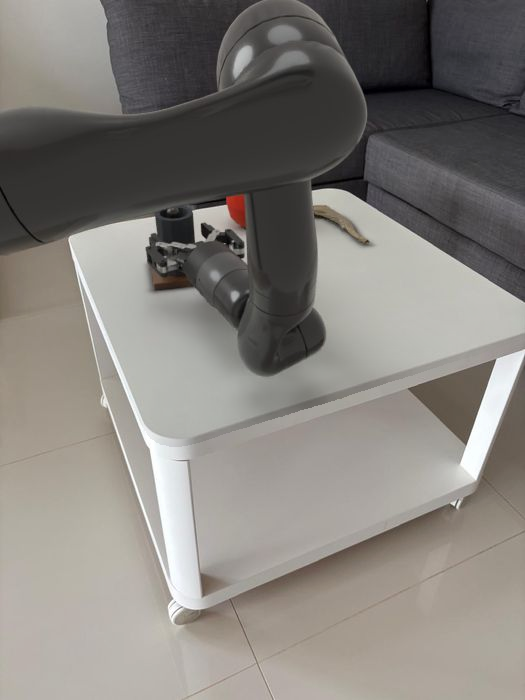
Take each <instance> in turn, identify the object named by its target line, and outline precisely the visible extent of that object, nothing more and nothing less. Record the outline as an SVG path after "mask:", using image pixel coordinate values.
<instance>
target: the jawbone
mask: <svg viewBox="0 0 525 700" xmlns="http://www.w3.org/2000/svg"><path fill="white" fill-rule="evenodd" d="M313 210H314V215H316V216H321V217H323V218H326V219H327V220H330V221H332V222H334V223H335V224H338V225H339V227H340V228H341V229H345V230H346V231H347V233H349V234H350V235H351V236H353V237H354V238H356V240H358V241H359V242H360V243H364V244H367V243H368V244H369V243H370V240H369V239H368V238H366V237H364V236H363V235H362V234H359V233H358V231H356V229H355V227H354V225H353V223H352V222H351V221H350V220H349V219H348V218H346V217H345V216H343V215H342V214H340V213H339V212H337V211H335V210H334V209H332V208H331V207H330V206H329V205H326V204H313Z"/></svg>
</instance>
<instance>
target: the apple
mask: <svg viewBox="0 0 525 700" xmlns="http://www.w3.org/2000/svg"><path fill="white" fill-rule="evenodd" d="M225 199H226V200H225V201H226V206H227V209H228V212H229V217H230V219H232V221H233V222H234V223H236V224H237V225H239V226H240V227H241V228H242V229H246V218H245V202H244V194H243V195H237V196H232V197H226V198H225Z"/></svg>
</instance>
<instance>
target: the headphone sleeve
mask: <svg viewBox="0 0 525 700" xmlns="http://www.w3.org/2000/svg"><path fill="white" fill-rule="evenodd" d="M177 208H178V210H179V215H180V218H175V219H170V218H167V209H166V210H162V211H158V212H155V213H154V218H155V227H156V228H155V229H156V234H157V235H158V236H159V237H160V238H161V240H162V241H163V242H164V243H168V244H170V243H172V242H177V243H182V244H192V243H196V238H195V237H196V235H195V233H196V232H195V221H194V219H195V218H194V212H193V209H192V208H190V207H188V206H187V205H183V206H179V207H177ZM164 251H165V254H167V255H168V251H167V250H164ZM176 251H177V254H178V252H179V251H180V250H176ZM168 274H169V276H175V277H178V276H186V275H185V273H183V272H181V271H179V270H177V269H176V270H172V271H168Z"/></svg>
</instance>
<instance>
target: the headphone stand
mask: <svg viewBox="0 0 525 700" xmlns="http://www.w3.org/2000/svg"><path fill="white" fill-rule="evenodd" d="M167 218H170V219H175V218H180V215H179V210H178V208H177V207H174V208H170V209H167ZM150 270H151V272H150V273H151V276H152V282H153V288H154V289H153V290H154V291H159V290H167V289H177V288H184V287H185V288H186V287H194V286H193V285H192V284H191V282H190V281H189V280H188V278H187V277H186V276H178V277H175V276H168V277H165V278H163V277H161V276H160V275H159V274H158V273H157V272H156V271H155V270H154V269H153V268H152V267H151V266H150Z"/></svg>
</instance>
